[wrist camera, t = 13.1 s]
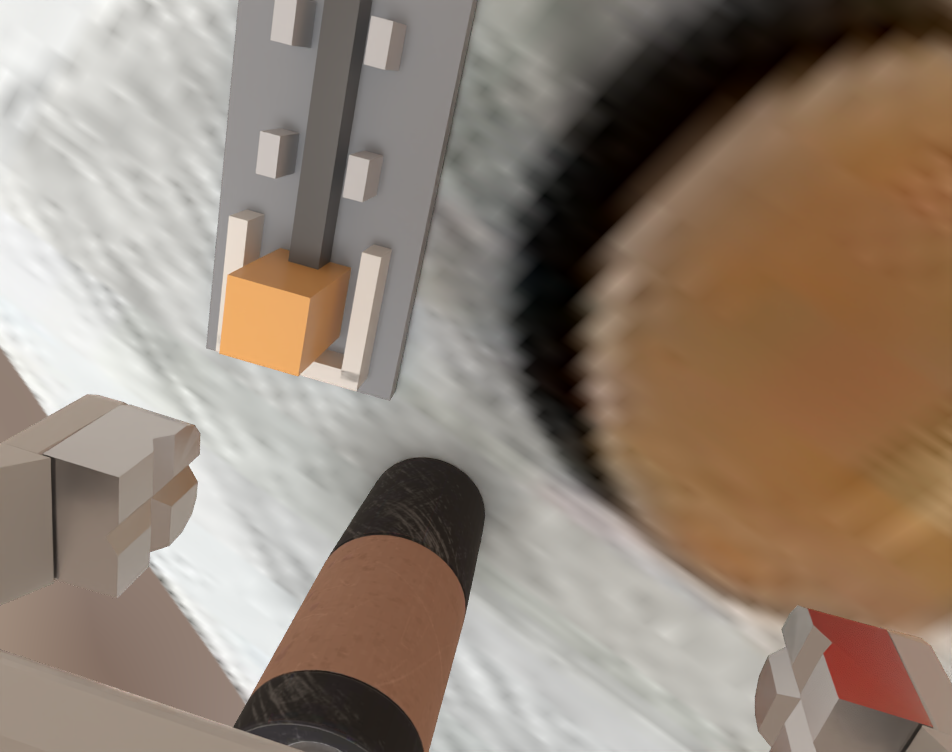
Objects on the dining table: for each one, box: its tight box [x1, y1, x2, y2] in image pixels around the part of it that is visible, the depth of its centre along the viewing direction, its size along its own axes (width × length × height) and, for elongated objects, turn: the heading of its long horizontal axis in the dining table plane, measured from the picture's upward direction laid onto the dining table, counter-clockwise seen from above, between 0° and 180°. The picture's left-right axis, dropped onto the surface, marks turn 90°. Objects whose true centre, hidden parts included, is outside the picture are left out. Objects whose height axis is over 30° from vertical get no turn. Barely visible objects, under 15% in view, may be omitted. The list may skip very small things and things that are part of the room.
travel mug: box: [233, 458, 485, 752], centre depth 36 cm, size 8×8×20 cm
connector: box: [219, 0, 372, 376], centre depth 34 cm, size 17×4×6 cm, turn 166°
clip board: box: [206, 0, 477, 401], centre depth 36 cm, size 11×28×4 cm, turn 167°
